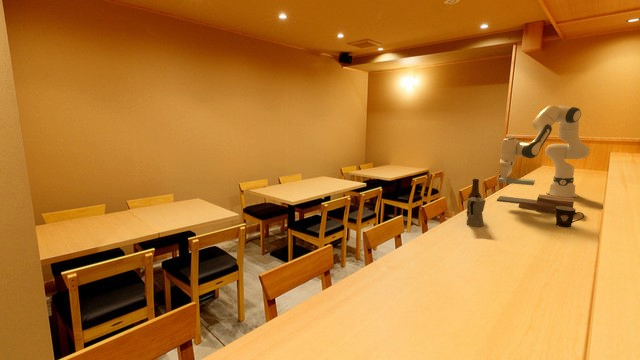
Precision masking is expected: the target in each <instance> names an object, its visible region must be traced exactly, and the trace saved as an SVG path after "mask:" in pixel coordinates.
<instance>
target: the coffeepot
mask: <svg viewBox="0 0 640 360" xmlns="http://www.w3.org/2000/svg"><path fill="white" fill-rule="evenodd" d="M475 196H476V197H472V198H468V197H467V203H468V206H469V214H468V217H467V219H466V225H467V226H468V225H469V227H473V228H481V227H484V216H483V212H484V209H485V205H486V199H485V198H483V197H481V198H479V197H478V194H476V195H475Z"/></svg>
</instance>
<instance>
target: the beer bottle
mask: <svg viewBox="0 0 640 360" xmlns="http://www.w3.org/2000/svg"><path fill="white" fill-rule="evenodd" d="M479 182H480V180H479V179H478V178H473V179H472V187H471V191H470V192H469V194H468V196H467V199H468V198H472V197H476V196H475V195H476V194H478V197H479V198H482V195H481V193H480V190H479V189H480V188H479V187H480V186H479V184H480V183H479ZM468 214H469V206H468V202H467V207H466V217H467V218H468Z"/></svg>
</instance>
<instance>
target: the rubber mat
mask: <svg viewBox="0 0 640 360" xmlns="http://www.w3.org/2000/svg"><path fill="white" fill-rule="evenodd" d="M520 200H522V201H530V202H537V199H530V198H523V197H522V198H520V197H511V196H505V195H504V196H503V195H500V196H499V197H498V198H496V201H497V202H505V203H514V204H519V201H520Z"/></svg>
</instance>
